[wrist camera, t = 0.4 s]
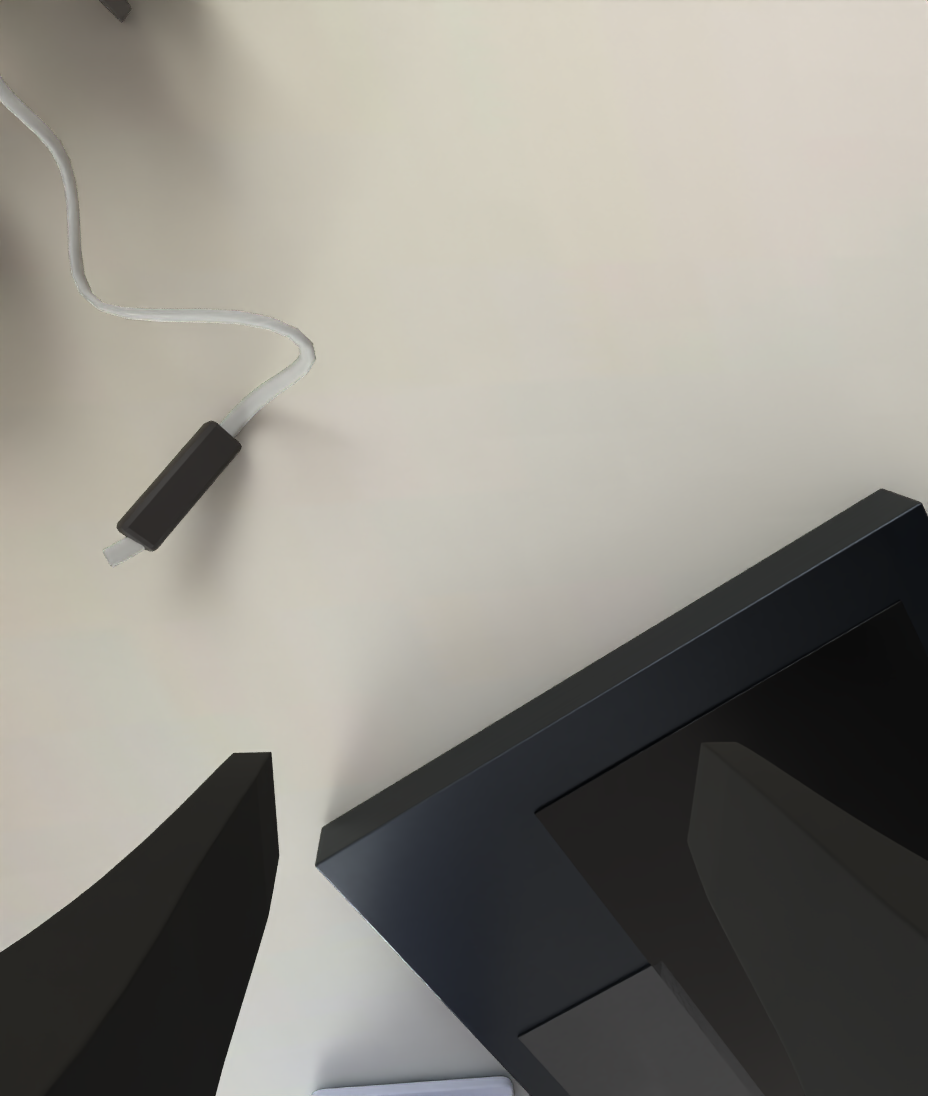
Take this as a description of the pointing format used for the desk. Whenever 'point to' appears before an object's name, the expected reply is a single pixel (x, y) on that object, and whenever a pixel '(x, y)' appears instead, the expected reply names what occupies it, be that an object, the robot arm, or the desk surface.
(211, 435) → the clip-on lamp
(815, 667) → the laptop
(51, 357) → the desk surface
